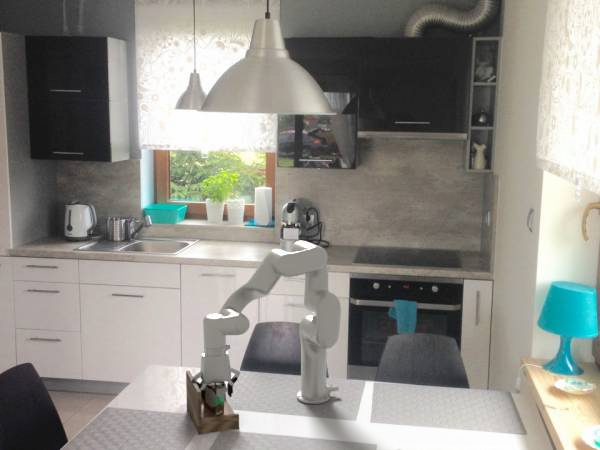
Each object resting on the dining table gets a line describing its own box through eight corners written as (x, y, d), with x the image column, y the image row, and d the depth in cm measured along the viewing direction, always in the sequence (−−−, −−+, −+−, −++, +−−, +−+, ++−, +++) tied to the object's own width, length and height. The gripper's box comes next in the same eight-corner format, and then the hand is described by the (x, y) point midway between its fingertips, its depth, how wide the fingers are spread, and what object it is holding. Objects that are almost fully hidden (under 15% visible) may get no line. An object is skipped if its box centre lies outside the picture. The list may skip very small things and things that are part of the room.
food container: (233, 414, 246) (233, 387, 244) (217, 418, 242) (217, 391, 240) (217, 402, 256) (216, 375, 254) (201, 406, 252) (201, 379, 251)
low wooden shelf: (225, 405, 260) (224, 366, 258) (239, 428, 242) (238, 386, 239) (186, 410, 256) (186, 370, 253) (198, 434, 237) (197, 392, 235)
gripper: (236, 343, 251) (238, 389, 254) (188, 349, 245) (189, 397, 249) (242, 350, 244) (243, 398, 247) (192, 357, 238) (194, 405, 242)
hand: (216, 397), depth 248 cm, fingers open, 8 cm apart
